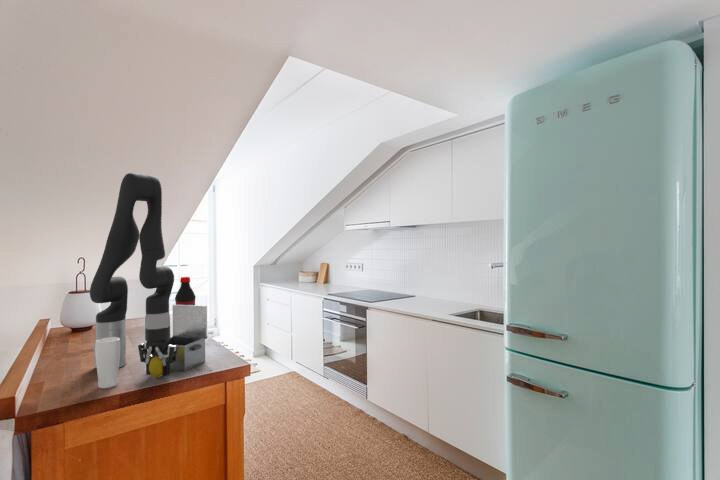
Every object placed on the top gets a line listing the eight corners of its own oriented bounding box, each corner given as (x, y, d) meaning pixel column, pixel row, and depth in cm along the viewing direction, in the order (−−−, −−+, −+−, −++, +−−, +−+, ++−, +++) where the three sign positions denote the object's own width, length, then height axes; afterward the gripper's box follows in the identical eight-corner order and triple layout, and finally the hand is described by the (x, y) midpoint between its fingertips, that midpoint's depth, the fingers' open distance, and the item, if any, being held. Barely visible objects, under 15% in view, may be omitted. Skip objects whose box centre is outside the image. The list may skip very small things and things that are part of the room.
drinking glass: (95, 391, 116) (95, 343, 116) (95, 385, 122) (94, 339, 122) (121, 386, 120) (121, 340, 120) (120, 380, 126) (119, 335, 126)
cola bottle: (172, 342, 172) (172, 276, 172) (191, 338, 178) (191, 275, 178) (179, 345, 166) (179, 278, 166) (198, 342, 172) (198, 276, 172)
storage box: (147, 369, 137) (147, 344, 137) (170, 358, 148) (170, 335, 148) (187, 372, 133) (187, 346, 133) (207, 361, 145) (207, 338, 145)
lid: (172, 305, 148) (175, 304, 150) (172, 337, 148) (175, 336, 150) (205, 306, 145) (208, 305, 147) (205, 339, 145) (208, 338, 147)
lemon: (163, 374, 132) (162, 351, 132) (170, 377, 128) (169, 354, 128) (146, 378, 127) (145, 355, 127) (153, 382, 124) (152, 358, 124)
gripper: (130, 327, 125) (131, 377, 126) (168, 329, 123) (168, 380, 123) (147, 322, 133) (148, 369, 133) (183, 324, 130) (184, 372, 130)
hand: (158, 374), depth 128 cm, fingers closed on lemon, 5 cm apart
